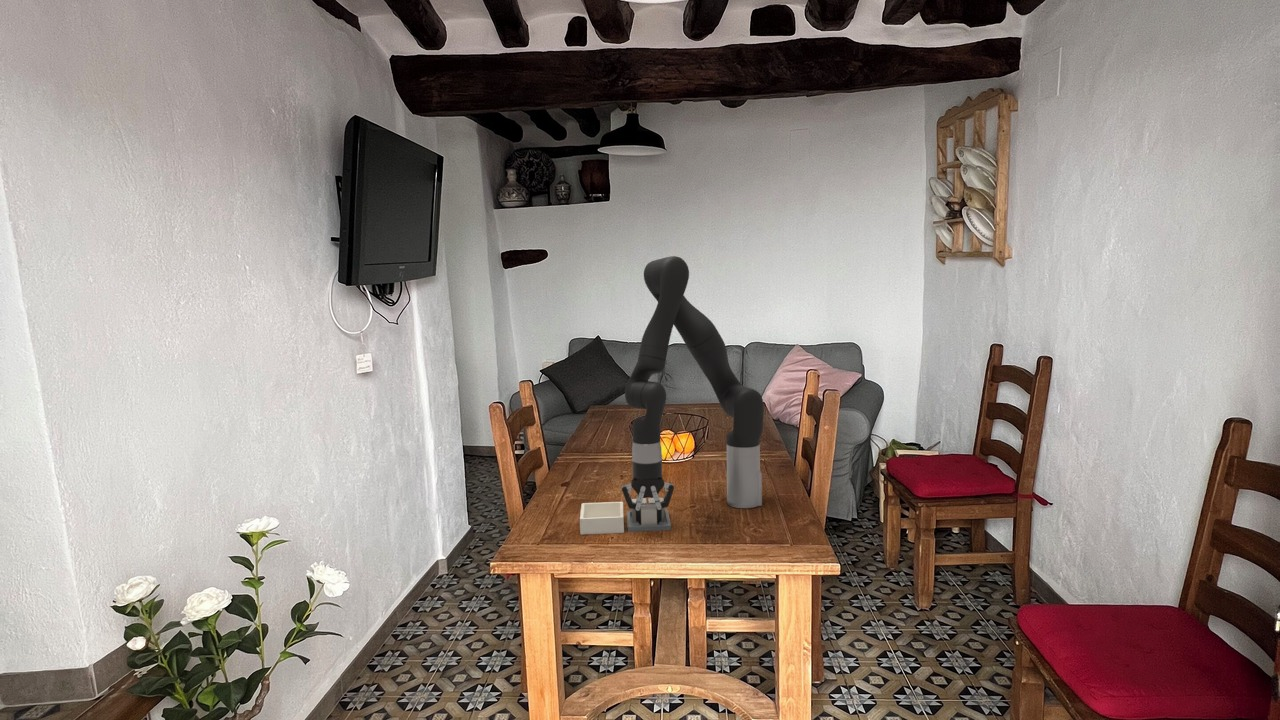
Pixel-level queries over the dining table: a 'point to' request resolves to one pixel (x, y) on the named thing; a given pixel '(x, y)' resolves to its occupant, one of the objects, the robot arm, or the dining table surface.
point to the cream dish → (601, 518)
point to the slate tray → (638, 527)
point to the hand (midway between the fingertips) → (648, 522)
